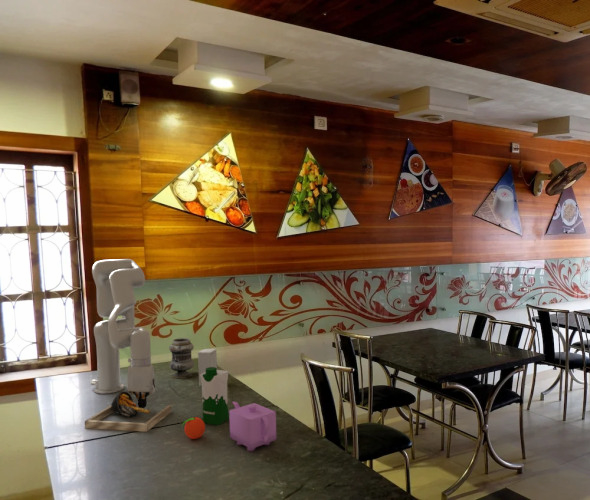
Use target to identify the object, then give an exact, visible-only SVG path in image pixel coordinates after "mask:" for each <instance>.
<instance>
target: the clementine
mask: <svg viewBox="0 0 590 500" xmlns="http://www.w3.org/2000/svg"><path fill="white" fill-rule="evenodd" d="M184 424H185V425H184ZM183 426H184V427H183ZM181 428H184V433H185V434H184V435H186V437H187V438H189V439H191V440H196V439H197V440H198V439H199V438H201V437H202V436H203V434H204V433H205V432H206V423H204V422H203V418H201V417H199V416H198V417H197V416H194V417H190V418H188V419H186V420H185V421H183V422H182V425H181Z"/></svg>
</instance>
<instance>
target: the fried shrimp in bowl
mask: <svg viewBox="0 0 590 500" xmlns="http://www.w3.org/2000/svg"><path fill="white" fill-rule="evenodd" d="M110 405H111V409H112V411H114V412H113V413H117V414H120V415H122V416H125V417H128V418H130V416H135V415H137V414H139V412H140V413H143V414H144V413H145V414H150V413H151V411H152V410H151V409H149V408H139V407H138V406H137V403H135V402H134V400H133V397H132V395H131V393H129V391H128V392H127V391H125V390H124V391H120V393H119V394H118V395H116V396H115V397H114V399H113V401H112V402H111V403H110Z"/></svg>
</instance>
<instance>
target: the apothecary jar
mask: <svg viewBox="0 0 590 500" xmlns="http://www.w3.org/2000/svg"><path fill="white" fill-rule="evenodd" d="M168 350H169V351H170V352H171V361H170V362H169V364H168V366H169V368H170V369H171V370H172V371H175V373H173V374H172V375H171V377H172V378H173V379H185V378H188V377H189V378H190V377H191V376H193V373H192V372H190V371H189V370H191V369H192V368H193V367H194V366H195V361H194V360H193V358H192V351H193V350H194V344H193V343H192V342H191V339H190V338H188V337H179V338H174V339H173V340H172V344H170V346H169V347H168Z"/></svg>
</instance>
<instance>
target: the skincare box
mask: <svg viewBox="0 0 590 500" xmlns="http://www.w3.org/2000/svg"><path fill="white" fill-rule="evenodd" d="M217 355H218V354H217V348H204V349H202V350H200V351H198V352H197V359H198V361H197V362H198V382H199V383H198V384H199V385H198V386H199V387H200V386H201V387H202V383H201V378H200V374H202V373H204V372H206V368H209V367H215V368H217V369H218V357H217Z"/></svg>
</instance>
